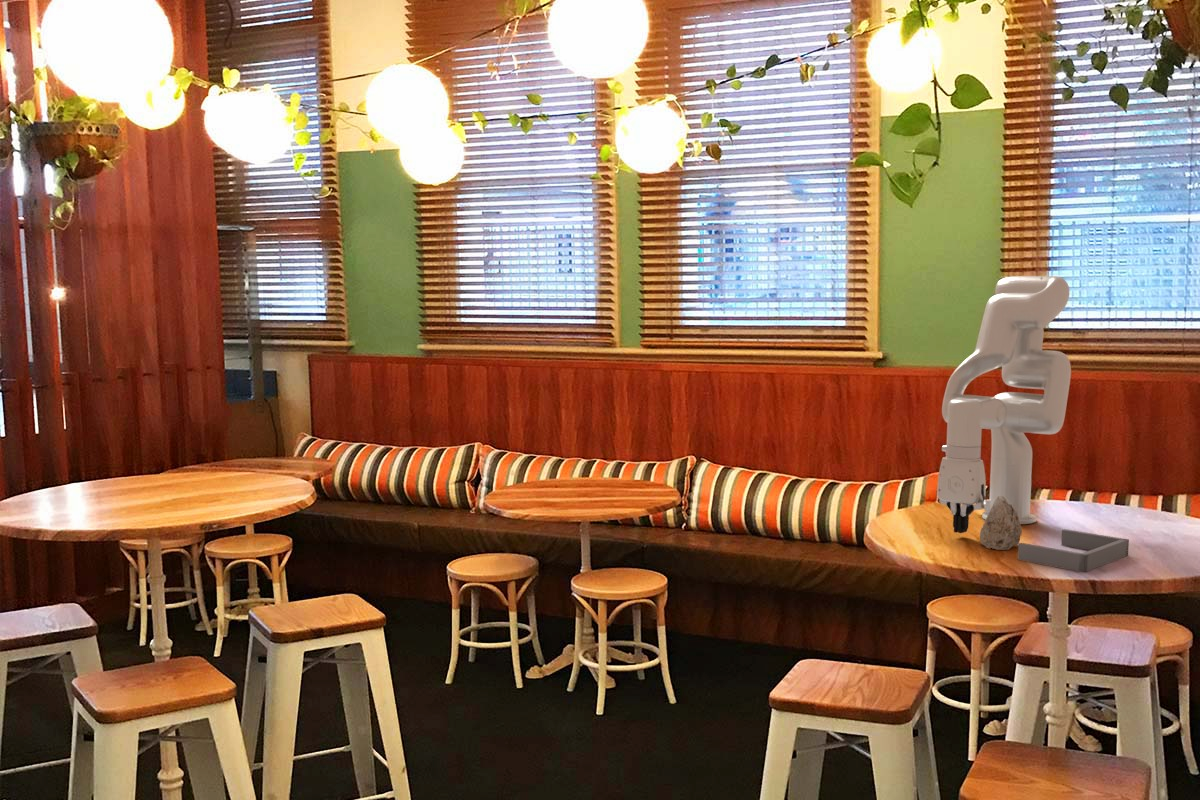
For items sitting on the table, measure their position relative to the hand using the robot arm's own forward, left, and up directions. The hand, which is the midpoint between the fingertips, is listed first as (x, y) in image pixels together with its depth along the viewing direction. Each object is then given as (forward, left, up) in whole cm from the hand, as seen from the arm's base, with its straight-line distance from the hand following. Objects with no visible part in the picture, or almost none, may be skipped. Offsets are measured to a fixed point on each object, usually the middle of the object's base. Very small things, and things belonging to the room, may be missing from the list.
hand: (960, 531), depth 266 cm
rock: (+10, 0, -2) cm, 10 cm away
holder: (+26, 0, -1) cm, 27 cm away
